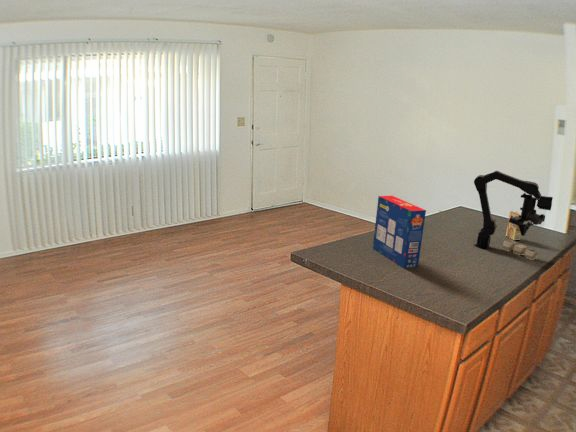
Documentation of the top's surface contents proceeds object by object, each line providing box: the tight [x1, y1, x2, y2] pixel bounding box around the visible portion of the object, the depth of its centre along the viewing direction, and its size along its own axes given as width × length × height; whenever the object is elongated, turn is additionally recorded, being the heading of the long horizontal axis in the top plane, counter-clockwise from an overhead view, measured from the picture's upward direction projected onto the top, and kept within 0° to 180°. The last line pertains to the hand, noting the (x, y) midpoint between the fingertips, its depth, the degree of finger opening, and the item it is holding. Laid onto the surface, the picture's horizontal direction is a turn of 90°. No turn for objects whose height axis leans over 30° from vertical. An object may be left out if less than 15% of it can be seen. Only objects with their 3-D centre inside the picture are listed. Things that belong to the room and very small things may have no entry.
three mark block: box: [523, 248, 540, 259], centre depth 263 cm, size 4×4×5 cm
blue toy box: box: [372, 195, 427, 269], centre depth 249 cm, size 28×8×28 cm, turn 22°
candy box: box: [505, 210, 522, 241], centre depth 294 cm, size 9×4×15 cm, turn 9°
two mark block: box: [502, 239, 517, 252], centre depth 275 cm, size 4×4×5 cm
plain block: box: [512, 244, 528, 255], centre depth 269 cm, size 4×4×4 cm
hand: (522, 235), depth 267 cm, fingers closed
